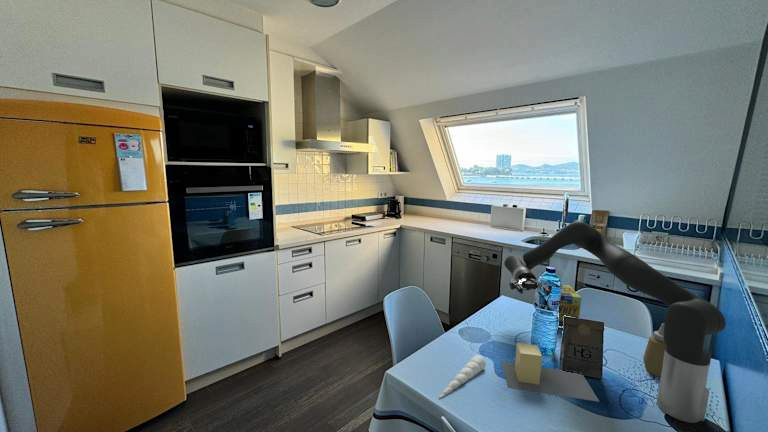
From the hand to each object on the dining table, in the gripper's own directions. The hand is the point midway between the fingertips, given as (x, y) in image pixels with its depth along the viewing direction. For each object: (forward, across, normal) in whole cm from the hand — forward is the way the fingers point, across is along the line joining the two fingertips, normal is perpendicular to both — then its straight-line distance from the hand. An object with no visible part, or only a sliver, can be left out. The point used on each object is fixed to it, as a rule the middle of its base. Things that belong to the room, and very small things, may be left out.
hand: (534, 292), depth 112 cm
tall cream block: (+12, -4, +25) cm, 28 cm away
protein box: (-35, +21, +26) cm, 48 cm away
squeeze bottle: (-1, +42, +26) cm, 49 cm away
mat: (+12, +2, +26) cm, 29 cm away
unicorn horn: (+18, -24, +26) cm, 40 cm away
